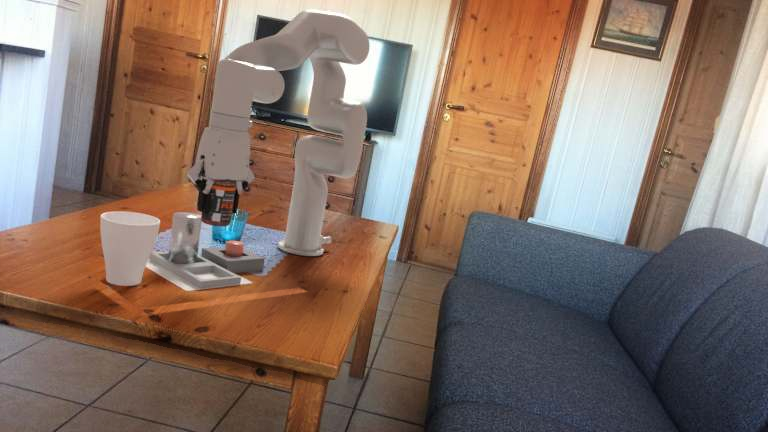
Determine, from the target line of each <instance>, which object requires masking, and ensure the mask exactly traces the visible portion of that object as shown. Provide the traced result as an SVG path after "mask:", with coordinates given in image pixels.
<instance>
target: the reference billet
mask: <svg viewBox="0 0 768 432" xmlns="http://www.w3.org/2000/svg"><path fill="white" fill-rule="evenodd" d="M201 216H202V215H200V214H199V213H198V214H197V213H193V212H185V211H184V212H181V211H180V212H179V211H178V212H173V215H172V220H171V221H172V223H171V228H170V229H171V231H170V238H169V239H170V240H169V245H168V246H169V247H168V252H169V253H168V260H169V261H171V262H173V263H174V264H188V263H196V262H197V255H199V254H198V253H199V246H200V239H201V230H202V224H203V222H202V221H201Z"/></svg>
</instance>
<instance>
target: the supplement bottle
mask: <svg viewBox="0 0 768 432" xmlns="http://www.w3.org/2000/svg"><path fill="white" fill-rule="evenodd" d="M235 190H236V183H235V182H234V181H232V180H230V179H226V180H220V181H218V180H215V181H214V183H213V185H212V187H211V189H210V191H209V194H211V201H210V208H209V213H208V214H205V213H202V212H201V215H200V216H201V221H202V224H203V223H204V224H205V225H209V226H213V227H228V226H229V225H231V221H232V217H233V216H232V215H233V213H232V210H233V204H234V196H235Z"/></svg>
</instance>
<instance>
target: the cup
mask: <svg viewBox="0 0 768 432" xmlns="http://www.w3.org/2000/svg"><path fill="white" fill-rule="evenodd" d="M99 217H100V220H99V221H100V222H99V223H100V225H99V230H100V231H99V232H100V239H101V248H102V253H103V258H104V265H105V280H106V282H107V283H109V284H110V285H115V286H122V287H123V286H124V287H129V286H130V287H132V286H137V285H140V284H141V283H142V278H143V274H144V272H145V270H146V268H147V267H146V264H147V262H148V259H150V257H151V253H153V250H154V247H155V244H156V240H157V238H158V235H159V230H160V225H161V220H160V219H159V218H158V217H156V216H153V215H150V214H146V213H141V212H133V211H117V210H116V211H106V212H103V213H101V214H100V216H99ZM105 286H106V287H107V288H108V289H110V290H114V289H113V288H112V287H111V286H109V285H107V284H106V285H105Z"/></svg>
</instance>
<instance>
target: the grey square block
mask: <svg viewBox="0 0 768 432" xmlns="http://www.w3.org/2000/svg"><path fill="white" fill-rule="evenodd" d="M224 253H225V246H218V247H202V248H201V254H200V256H201V257H203V258H205V259H207V260H209V261H211V262H213V263H215V264H217V265H219V266H221V267H223V268H224V269H226V270H228V271H230V272H232V273H235V274H237V273H239V274H240V273H246V272H257V271H258V272H259V271H264V266H265V259H266V258H265V257H263V256H261V255H259V254H257V253H255V252H252V251H250V250H248V249H247V248H243V255H242V256H239V257H230V256H228V255H226V254H224Z"/></svg>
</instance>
